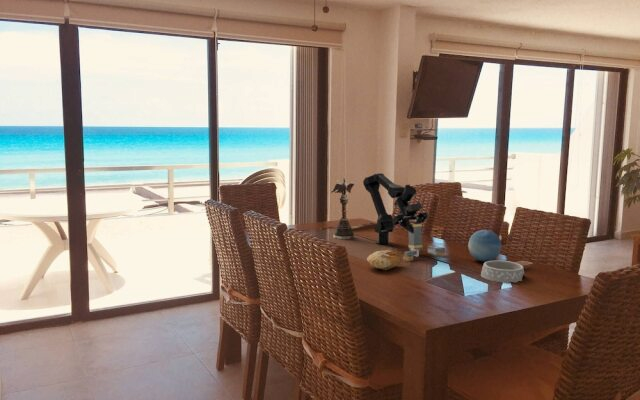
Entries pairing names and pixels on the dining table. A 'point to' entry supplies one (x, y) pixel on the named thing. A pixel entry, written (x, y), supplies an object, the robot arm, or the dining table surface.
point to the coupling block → (415, 237)
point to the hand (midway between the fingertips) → (417, 232)
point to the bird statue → (343, 211)
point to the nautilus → (385, 259)
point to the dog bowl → (502, 271)
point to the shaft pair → (432, 250)
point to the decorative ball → (484, 245)
